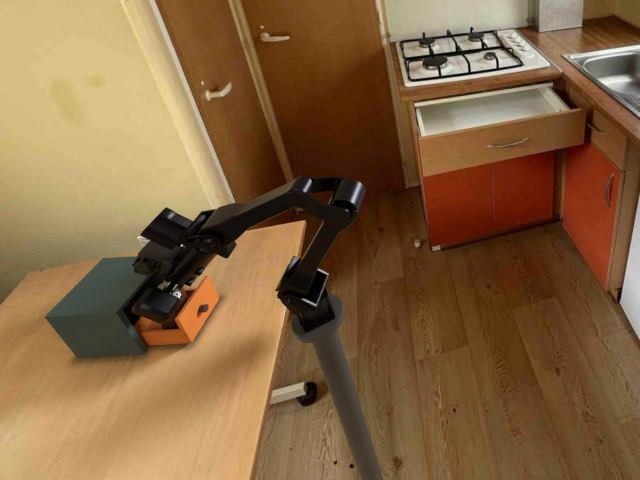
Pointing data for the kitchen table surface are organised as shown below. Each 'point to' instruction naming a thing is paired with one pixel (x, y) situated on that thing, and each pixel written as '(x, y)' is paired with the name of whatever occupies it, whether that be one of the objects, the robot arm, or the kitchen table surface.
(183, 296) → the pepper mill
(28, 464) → the kitchen table surface
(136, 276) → the cubby
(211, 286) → the drawer
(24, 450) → the kitchen table surface
